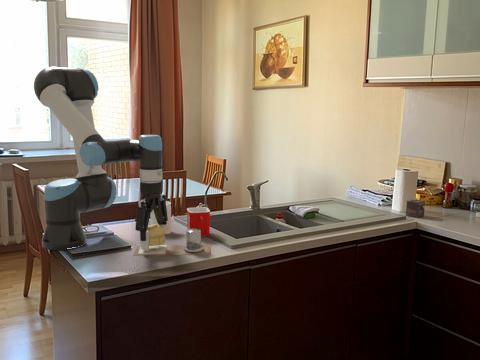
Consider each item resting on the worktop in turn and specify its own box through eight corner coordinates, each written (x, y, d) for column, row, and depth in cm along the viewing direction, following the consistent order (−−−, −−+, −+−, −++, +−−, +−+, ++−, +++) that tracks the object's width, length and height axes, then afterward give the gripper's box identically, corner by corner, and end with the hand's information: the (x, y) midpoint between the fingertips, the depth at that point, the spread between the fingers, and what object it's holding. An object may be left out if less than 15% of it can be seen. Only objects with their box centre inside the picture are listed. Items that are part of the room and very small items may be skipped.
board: (133, 259, 158) (132, 255, 158) (137, 248, 169) (137, 245, 169) (211, 257, 160) (211, 254, 160) (210, 247, 171) (210, 244, 171)
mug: (174, 236, 184) (174, 206, 182) (152, 238, 182) (151, 207, 180) (170, 228, 195) (169, 200, 193) (149, 230, 193) (148, 201, 191)
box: (417, 218, 217) (418, 202, 216) (405, 215, 222) (406, 200, 221) (424, 216, 221) (425, 201, 220) (412, 213, 226) (413, 198, 224)
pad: (137, 254, 159) (137, 253, 159) (141, 246, 168) (141, 245, 168) (165, 254, 160) (165, 253, 160) (166, 246, 169) (166, 244, 169)
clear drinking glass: (183, 253, 161) (182, 233, 160) (183, 246, 168) (183, 228, 167) (203, 252, 162) (203, 233, 161) (203, 246, 169) (203, 227, 168)
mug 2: (186, 234, 188) (186, 208, 186) (206, 232, 190) (206, 207, 188) (191, 243, 176) (191, 215, 174) (213, 241, 178) (213, 214, 177)
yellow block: (155, 247, 158) (155, 229, 157) (136, 243, 161) (135, 226, 160) (169, 240, 165) (168, 224, 164) (150, 237, 169) (149, 221, 168)
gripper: (141, 187, 149) (143, 256, 153) (177, 177, 167) (178, 239, 171) (122, 185, 152) (124, 253, 156) (159, 175, 171) (161, 236, 174)
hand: (152, 245), depth 164 cm, fingers closed on yellow block, 8 cm apart
